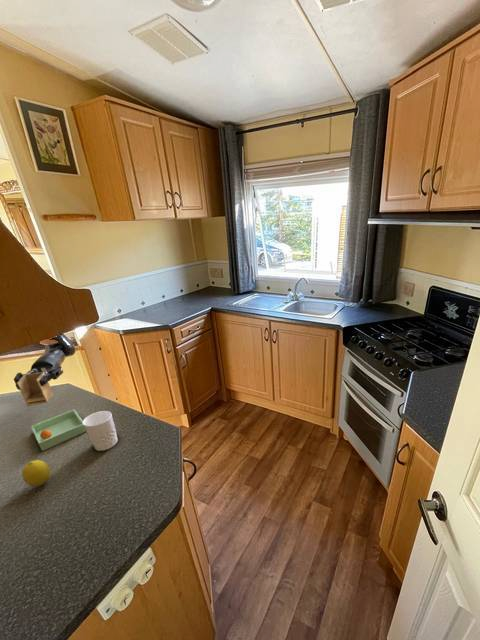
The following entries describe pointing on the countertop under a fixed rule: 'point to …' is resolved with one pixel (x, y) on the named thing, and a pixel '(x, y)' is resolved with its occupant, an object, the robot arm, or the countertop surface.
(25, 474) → the lemon
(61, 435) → the tray
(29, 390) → the open wooden box
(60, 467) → the countertop surface
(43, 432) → the ball
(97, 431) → the white cup
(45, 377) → the robot arm
